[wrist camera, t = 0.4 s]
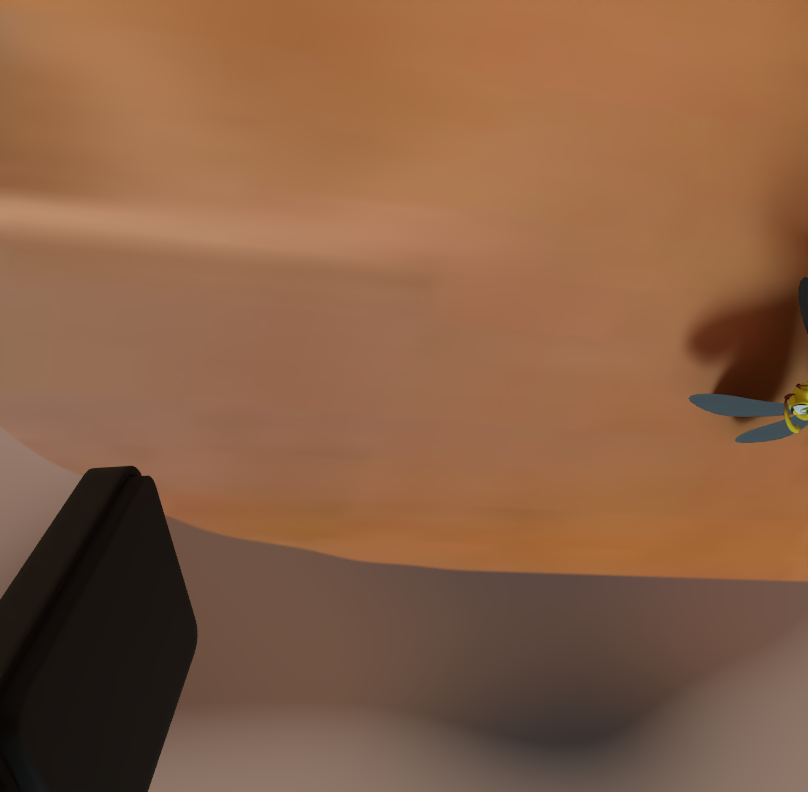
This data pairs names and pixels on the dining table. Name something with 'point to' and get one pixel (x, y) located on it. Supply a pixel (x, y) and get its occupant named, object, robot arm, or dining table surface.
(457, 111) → the dining table surface
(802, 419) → the toy
